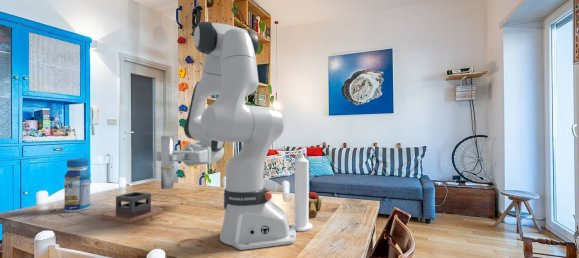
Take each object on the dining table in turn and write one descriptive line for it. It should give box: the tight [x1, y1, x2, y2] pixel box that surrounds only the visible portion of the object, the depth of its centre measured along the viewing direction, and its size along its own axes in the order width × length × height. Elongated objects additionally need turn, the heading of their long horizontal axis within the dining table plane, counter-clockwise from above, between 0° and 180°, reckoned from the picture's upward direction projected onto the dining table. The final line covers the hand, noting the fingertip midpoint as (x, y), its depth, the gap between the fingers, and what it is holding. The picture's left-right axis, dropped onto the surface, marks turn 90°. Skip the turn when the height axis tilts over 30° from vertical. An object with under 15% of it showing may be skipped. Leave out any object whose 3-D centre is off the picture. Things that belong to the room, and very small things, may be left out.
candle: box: [290, 150, 313, 232], centre depth 87 cm, size 7×7×25 cm
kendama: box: [308, 191, 323, 218], centre depth 107 cm, size 8×6×18 cm
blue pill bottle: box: [63, 158, 92, 213], centre depth 107 cm, size 8×8×20 cm
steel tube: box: [160, 135, 175, 190], centre depth 94 cm, size 4×4×18 cm
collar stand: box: [101, 191, 164, 224], centre depth 99 cm, size 14×14×8 cm
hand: (165, 157), depth 93 cm, fingers closed on steel tube, 4 cm apart
